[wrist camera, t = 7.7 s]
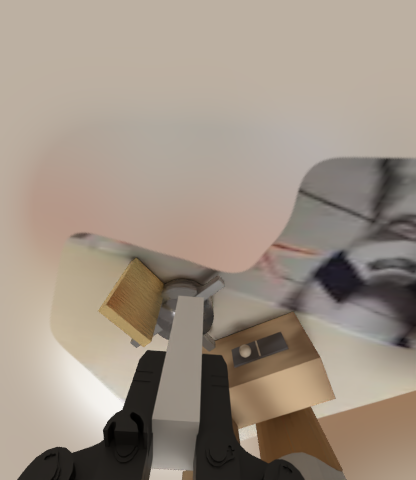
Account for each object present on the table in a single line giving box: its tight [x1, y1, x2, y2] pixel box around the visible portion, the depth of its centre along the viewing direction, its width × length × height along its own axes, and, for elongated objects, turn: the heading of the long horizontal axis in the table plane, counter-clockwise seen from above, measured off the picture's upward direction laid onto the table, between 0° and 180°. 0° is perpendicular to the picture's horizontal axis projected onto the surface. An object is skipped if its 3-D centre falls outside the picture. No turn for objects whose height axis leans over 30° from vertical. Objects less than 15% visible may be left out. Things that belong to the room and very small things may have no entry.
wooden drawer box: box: [182, 312, 336, 480], centre depth 21 cm, size 14×7×11 cm, turn 115°
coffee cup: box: [256, 407, 346, 480], centre depth 22 cm, size 8×8×15 cm
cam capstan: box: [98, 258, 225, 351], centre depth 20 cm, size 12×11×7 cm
